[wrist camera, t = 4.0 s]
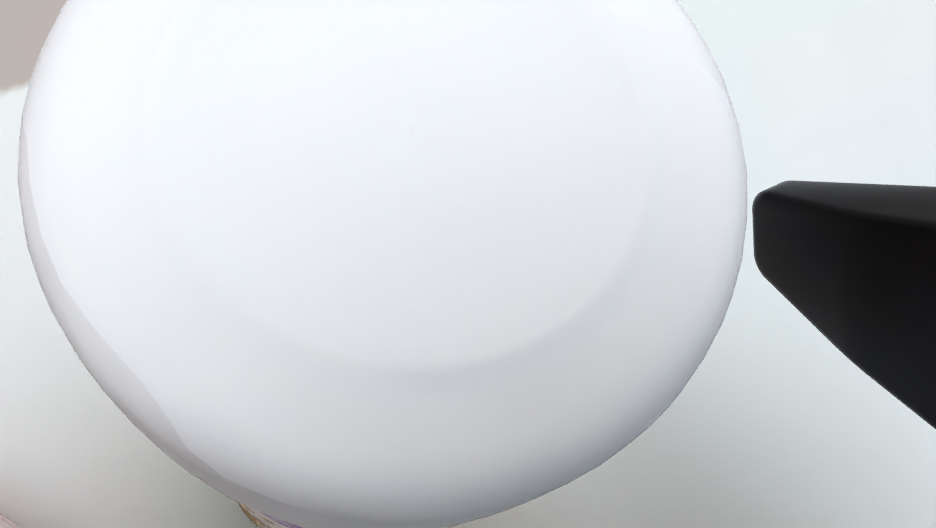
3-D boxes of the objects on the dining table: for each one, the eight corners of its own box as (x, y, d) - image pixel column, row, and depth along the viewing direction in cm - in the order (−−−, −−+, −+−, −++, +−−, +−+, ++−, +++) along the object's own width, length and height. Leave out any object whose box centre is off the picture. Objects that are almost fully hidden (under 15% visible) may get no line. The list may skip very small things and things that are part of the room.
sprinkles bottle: (236, 576, 17) (4, 610, 4) (211, 343, 18) (-22, -182, 5) (470, 529, 18) (875, 439, 5) (430, 312, 19) (669, -193, 6)
